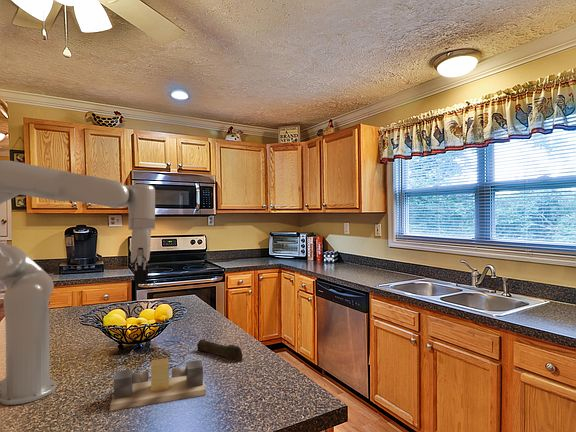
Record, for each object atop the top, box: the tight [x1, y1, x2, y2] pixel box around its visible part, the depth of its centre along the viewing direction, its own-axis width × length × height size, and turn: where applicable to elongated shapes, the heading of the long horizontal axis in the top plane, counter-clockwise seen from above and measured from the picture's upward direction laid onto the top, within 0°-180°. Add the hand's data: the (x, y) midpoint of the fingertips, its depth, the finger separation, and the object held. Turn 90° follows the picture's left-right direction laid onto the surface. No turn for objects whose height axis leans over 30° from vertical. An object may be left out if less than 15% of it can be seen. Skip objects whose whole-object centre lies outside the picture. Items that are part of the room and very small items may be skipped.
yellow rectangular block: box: [150, 357, 170, 393], centre depth 95 cm, size 4×4×7 cm
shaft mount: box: [109, 359, 207, 412], centre depth 95 cm, size 23×10×6 cm, turn 110°
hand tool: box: [196, 339, 243, 362], centre depth 121 cm, size 19×4×5 cm, turn 56°
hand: (141, 280), depth 108 cm, fingers open, 9 cm apart
